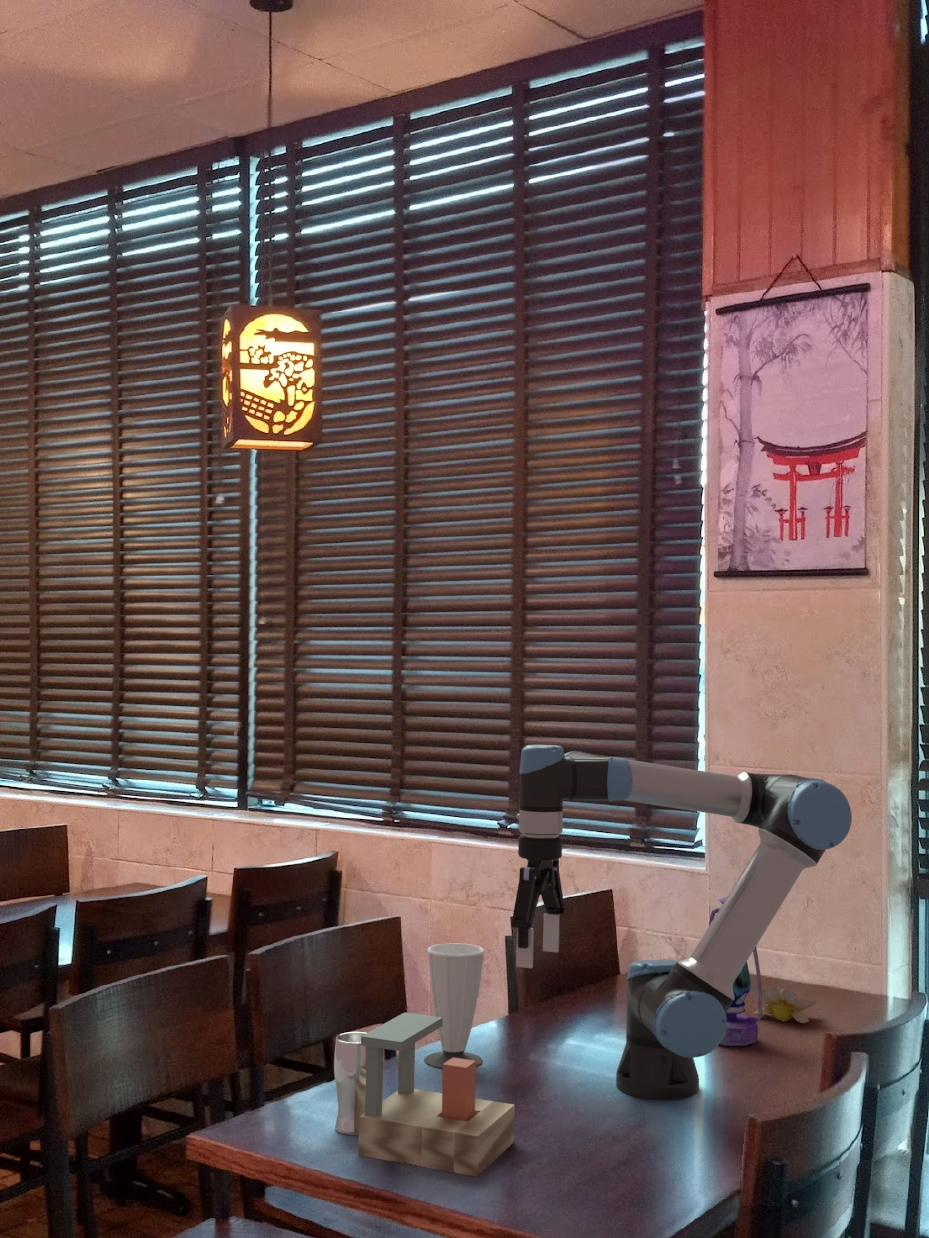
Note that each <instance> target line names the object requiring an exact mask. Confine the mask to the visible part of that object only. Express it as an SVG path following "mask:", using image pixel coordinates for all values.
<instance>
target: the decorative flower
mask: <svg viewBox="0 0 929 1238" xmlns="http://www.w3.org/2000/svg"><path fill="white" fill-rule="evenodd" d="M749 992H750V993H751V994H752V995H753V996H754V997H756V998H757V999H759V992H758V986H757V987H756V986H753V987H752V986H751V989H750V991H749ZM798 996H799V995H798V994H797V993H795V992H794V991H791V990H790V989H789V988H787V987H783V988H782V989H779V988H777V987H774V986H769V987H767V988H766V989H763V988H762V1003H765V1006H762V1015H763V1014H765V1015H766V1014H773V1017H774V1018H775V1019H776V1020H777V1019H778V1021H779V1020H784V1021H785V1020H787V1021H789V1020H791V1019H792V1018H793V1019H795V1020H796V1022H798V1023H801V1024H807V1023H809V1022H810V1020H809V1018H808V1017H807V1016H806V1015H805V1014H804V1013H803V1011H805V1010H807V1009H809V1008H810V1007H811V1008H812V1007H813V1006H814V1005H816V1004H817V1003H818V1001H816V1000H811V999H810V1000H809V999H804V998H801V999H799V997H798ZM753 1014H756V1015H757V1014H758V1009H757V1010H756V1011H754V1012H753ZM785 1022H786V1021H785ZM806 1022H807V1023H806Z"/></svg>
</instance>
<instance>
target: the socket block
mask: <svg viewBox="0 0 929 1238" xmlns="http://www.w3.org/2000/svg"><path fill="white" fill-rule="evenodd" d="M515 1105H516V1104H514V1103H513V1104H512V1103H505V1102H500V1101H494V1100H487V1099H481V1098H476V1097H475V1116H474V1117H473V1118H472V1119H470V1120H469V1121H468V1122H467V1121H461V1120H455V1119H449V1118H443V1117H442V1092H436V1091H431V1090H430V1091H429V1090H424V1089H423V1090H422V1089H419V1088H414V1091H413V1092H412V1093H410V1094H403V1093H398V1090H396V1091H394V1092H393V1093H392V1094H390V1095H389V1096H388V1097H386V1098H385V1099H382V1113H381V1114H380V1115H378V1116H377V1117H375V1116H369V1115H365V1113H363V1114H362V1115H360V1116H359V1135H358V1147H357V1148H358V1149H357V1150H358V1151H357V1152H358V1153H357V1155H358V1156H360V1157H361V1156H362V1157H366V1158H372V1159H377V1160H378V1159H379V1160H383V1161H388V1162H393V1161H394V1162H393V1163H398V1162H400V1164H404V1163H406V1165H409V1164H412V1165H411V1166H415V1165H417V1166H416V1167H420V1166H421V1167H422V1168H426V1169H433V1170H436V1171H442V1170H443V1172H450V1173H453V1172H455V1174H458V1175H459V1174H460V1175H464V1176H470V1175H471V1176H470V1177H475V1178H477V1177H478V1176H479V1175H480V1174H482V1173H483V1172H484V1171H486V1169H487V1168H488V1167H489V1166H490V1165H491V1164H493V1162H494V1161H495V1160H497V1159H498V1157H500V1156H501V1155H502V1154H503V1153H504V1152H506V1150H507V1149H508V1148H510V1147H511V1146H512V1145H513V1144H514V1143H515V1108H516V1106H515ZM483 1170H484V1171H483Z"/></svg>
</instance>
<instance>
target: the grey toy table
mask: <svg viewBox="0 0 929 1238" xmlns="http://www.w3.org/2000/svg"><path fill="white" fill-rule="evenodd" d="M442 1026H443V1017H436V1016H435V1015H427V1014H419V1013H412V1012H403V1013H401V1014H399V1015H397V1016H395V1017H393V1018H392V1019H390V1020H389V1021H386V1022H385V1023H383V1024H380V1025H379V1026H378V1027H375V1028H373V1029H372V1030H370V1031H368V1032H365V1033H366V1034H364V1035H362V1036H361V1045H362V1046H367V1050H366V1092H365V1115H369V1116H375V1117H377V1116H378V1115H380V1114H381V1113H382V1101H383V1093H384V1092H383V1089H384V1087H383V1083H384V1050H390V1051H391V1050H392V1051H397V1052H398V1066H397V1068H398V1070H397V1071H398V1073H397V1074H398V1075H397V1076H398V1078H397V1091H398V1093H403V1094H410V1093H412V1092H413V1091H414V1089H415V1060H416V1057H415V1055H416V1054H415V1053H416V1052H415V1051H416V1048H415V1047H416V1043H418V1042H419V1041H420V1040H422V1039H423V1038H425V1037H427V1036H429V1035H430V1034H432V1033H433V1032H435V1031H438V1028H440V1027H442Z"/></svg>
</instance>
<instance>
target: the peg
mask: <svg viewBox="0 0 929 1238" xmlns="http://www.w3.org/2000/svg"><path fill="white" fill-rule="evenodd" d="M476 1074H477V1067H476V1061H474V1060H467V1059H460V1058H451V1059H450V1060H448V1061H447V1062H445V1063H444V1064H443V1069H442V1083H441V1085H442V1087H441V1088H442V1091H441V1093H442V1117H443V1118H449V1119H455V1120H461V1121H467V1122H468V1121H469V1120H470V1119H472V1118H473V1117H474V1116H475V1098H476V1081H477V1080H476V1077H477V1076H476Z"/></svg>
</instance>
